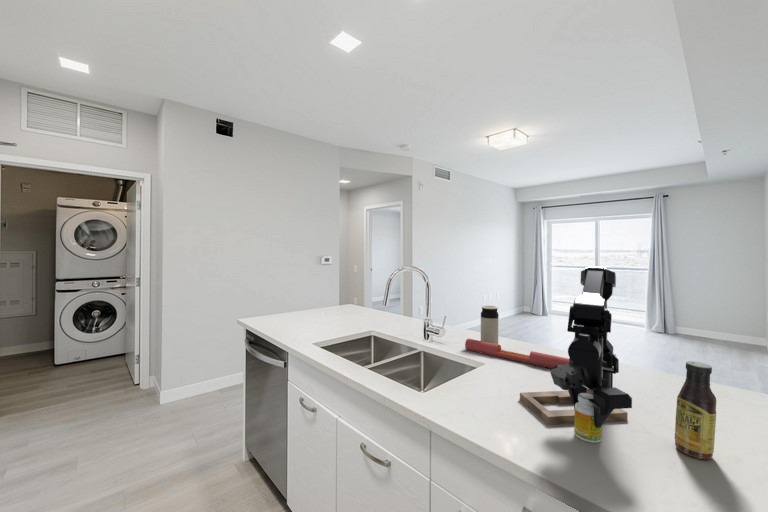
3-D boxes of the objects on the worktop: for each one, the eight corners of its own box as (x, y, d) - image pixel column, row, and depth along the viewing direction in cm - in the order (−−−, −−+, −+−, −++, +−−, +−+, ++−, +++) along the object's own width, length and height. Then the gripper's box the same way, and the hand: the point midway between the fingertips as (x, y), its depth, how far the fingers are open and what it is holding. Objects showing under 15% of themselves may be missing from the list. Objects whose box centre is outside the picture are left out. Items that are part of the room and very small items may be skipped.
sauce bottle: (666, 444, 74) (668, 358, 73) (691, 443, 74) (693, 357, 74) (697, 463, 67) (698, 369, 67) (724, 461, 68) (726, 368, 67)
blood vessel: (464, 350, 144) (464, 339, 143) (470, 348, 147) (470, 337, 147) (571, 375, 116) (571, 361, 116) (574, 371, 119) (574, 358, 119)
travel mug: (500, 347, 148) (501, 308, 148) (483, 347, 148) (483, 308, 148) (495, 342, 156) (495, 305, 156) (478, 342, 156) (478, 305, 156)
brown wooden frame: (588, 396, 98) (588, 389, 98) (627, 420, 84) (627, 412, 84) (519, 399, 96) (519, 392, 96) (548, 424, 82) (548, 416, 82)
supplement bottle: (592, 446, 73) (593, 403, 73) (569, 434, 78) (569, 394, 78) (605, 439, 75) (606, 398, 75) (582, 428, 80) (583, 389, 80)
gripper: (534, 344, 85) (533, 403, 85) (585, 370, 66) (584, 445, 66) (573, 343, 86) (572, 401, 86) (634, 369, 67) (633, 442, 68)
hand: (587, 420), depth 77 cm, fingers open, 6 cm apart
